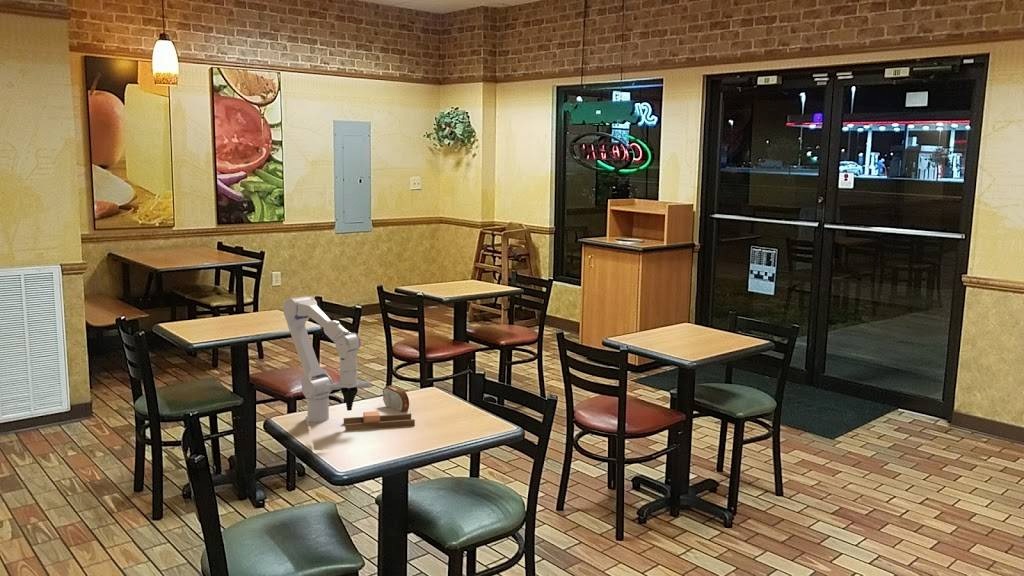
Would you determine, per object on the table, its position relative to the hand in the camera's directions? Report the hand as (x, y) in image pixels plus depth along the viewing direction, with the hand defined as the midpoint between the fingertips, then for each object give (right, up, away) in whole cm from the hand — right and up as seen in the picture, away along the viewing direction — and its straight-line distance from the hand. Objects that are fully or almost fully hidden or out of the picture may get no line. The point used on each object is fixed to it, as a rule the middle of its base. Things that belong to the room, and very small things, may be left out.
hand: (349, 409), depth 273 cm
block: (+7, -6, +3) cm, 10 cm away
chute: (+9, -7, +4) cm, 12 cm away
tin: (+12, -4, +25) cm, 28 cm away
